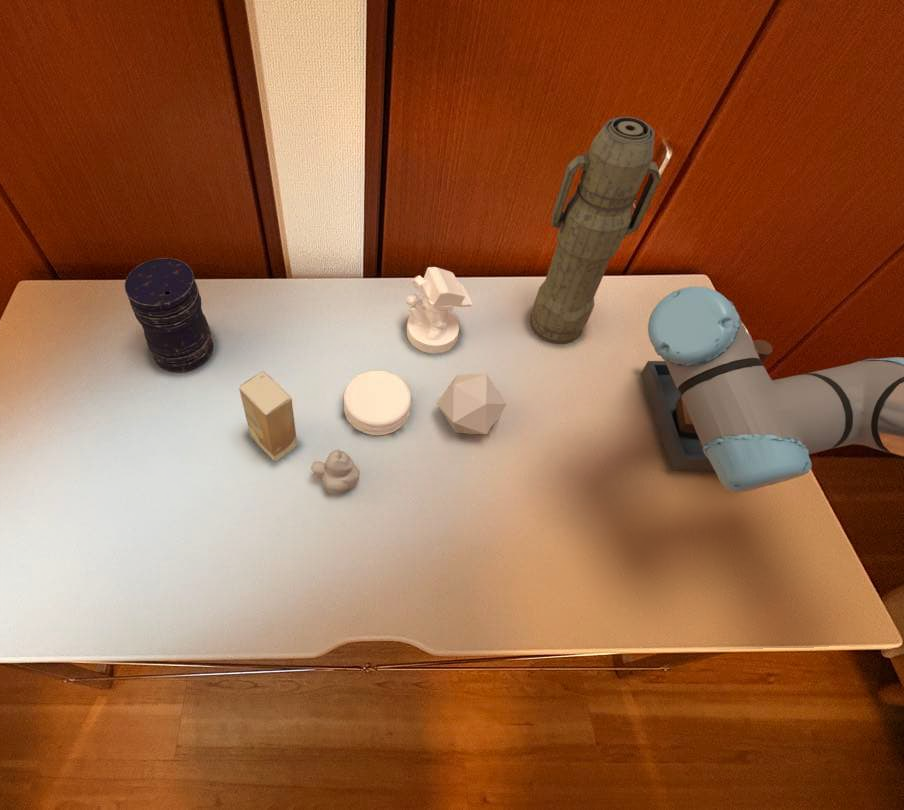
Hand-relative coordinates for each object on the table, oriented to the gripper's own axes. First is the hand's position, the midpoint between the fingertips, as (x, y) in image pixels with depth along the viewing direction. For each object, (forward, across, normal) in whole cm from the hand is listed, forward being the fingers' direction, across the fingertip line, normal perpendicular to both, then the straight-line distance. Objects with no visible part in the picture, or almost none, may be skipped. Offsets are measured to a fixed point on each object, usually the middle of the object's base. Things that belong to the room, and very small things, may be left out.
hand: (742, 385), depth 85 cm
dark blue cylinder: (-41, -50, -53) cm, 83 cm away
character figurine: (-14, -34, -26) cm, 45 cm away
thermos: (0, -26, -12) cm, 29 cm away
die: (-17, -17, -29) cm, 38 cm away
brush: (+3, 0, -8) cm, 9 cm away
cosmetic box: (-36, -27, -48) cm, 66 cm away
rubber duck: (-33, -17, -45) cm, 58 cm away
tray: (+4, -1, -7) cm, 9 cm away
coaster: (-25, -25, -37) cm, 51 cm away
